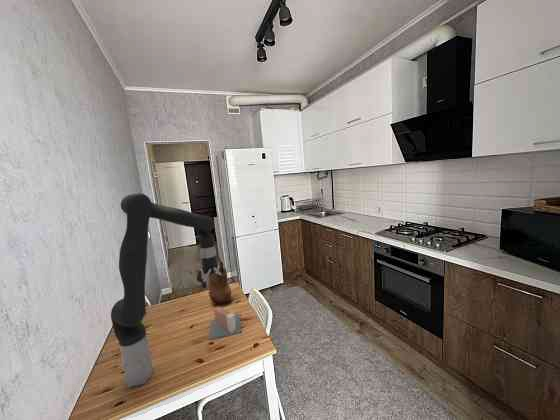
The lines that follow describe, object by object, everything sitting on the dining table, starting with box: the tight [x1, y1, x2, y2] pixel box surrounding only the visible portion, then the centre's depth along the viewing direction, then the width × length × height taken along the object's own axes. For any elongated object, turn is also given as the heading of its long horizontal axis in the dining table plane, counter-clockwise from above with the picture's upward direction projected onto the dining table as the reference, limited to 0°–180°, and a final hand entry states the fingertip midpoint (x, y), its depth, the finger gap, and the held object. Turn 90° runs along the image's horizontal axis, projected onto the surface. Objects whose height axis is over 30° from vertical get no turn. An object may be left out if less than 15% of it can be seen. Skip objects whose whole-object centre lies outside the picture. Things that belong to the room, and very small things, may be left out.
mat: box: [208, 313, 243, 341], centre depth 120 cm, size 16×16×1 cm
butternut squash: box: [208, 264, 232, 305], centre depth 144 cm, size 14×13×25 cm
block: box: [213, 306, 236, 332], centre depth 119 cm, size 3×8×14 cm
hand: (212, 285), depth 118 cm, fingers open, 8 cm apart
